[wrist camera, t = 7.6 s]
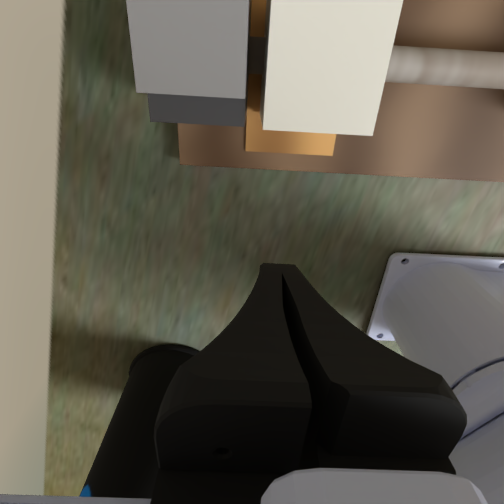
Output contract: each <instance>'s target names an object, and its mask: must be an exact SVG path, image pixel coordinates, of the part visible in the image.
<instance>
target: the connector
mask: <svg viewBox="0 0 504 504" xmlns="http://www.w3.org/2000/svg"><path fill="white" fill-rule="evenodd" d="M126 4H127V13H128V22H129V31H130V40H131V49H132V58H133V67H134V75H135V84H136V92H137V93H148V103H149V113H150V122H166V123H184V124H202V125H219V126H237V127H245V121H246V116H247V100H248V76H249V74H248V57H249V36H250V28H251V4H252V0H126Z"/></svg>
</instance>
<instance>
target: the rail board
mask: <svg viewBox="0 0 504 504" xmlns="http://www.w3.org/2000/svg"><path fill="white" fill-rule="evenodd" d="M265 15H266V0H252V4H251V28H250V36H249V57H248V74H249V76H248V100H247V116H246V121H245V127H237V126H219V125H202V124H184V123H178V139H179V157H180V165H196V166H215V167H233V168H252V169H271V170H289V171H308V172H326V173H345V174H363V175H382V176H401V177H419V178H438V179H456V180H475V181H494V182H504V0H403V4H402V8H401V13H400V17H399V22H398V26H397V30H396V35H395V39H394V44H393V48H392V53H391V57H390V61H389V66H388V70H387V75H386V79H385V83H384V88H383V92H382V97H381V101H380V106H379V110H378V114H377V119H376V123H375V128H374V132H373V136H363V135H346V134H328V133H310V132H293V131H275V130H263V128H262V123H261V118H260V99H261V83H262V75H264V60H265V44H266V37H264V32H265Z"/></svg>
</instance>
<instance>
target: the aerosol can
mask: <svg viewBox="0 0 504 504" xmlns="http://www.w3.org/2000/svg"><path fill="white" fill-rule="evenodd" d="M197 353H199V351H197V350H194V349H192V348H189V347H184V346H180V345H161V346H156V347H152V348H150V349H147V350H145V351H143V352H142V353H140V354H139V355H138V356H137V357H136V358H135V359H134V360H133V362H132V364H131V366H130V371H129V379H128V381H127V383H126V386H125V388H124V391H123V393H122V395H121V398H120V400H119V403H118V405H117V407H116V410H115V412H114V415H113V417H112V419H111V422H110V424H109V427H108V429H107V431H106V434H105V436H104V439H103V441H102V443H101V446H100V448H99V451H98V453H97V455H96V458H95V460H94V463H93V465H92V467H91V470H90V472H89V474H88V477H87V479H86V482H85V484H84V486H83V489H82V491H81V494H80V496H79V497H108V498H141V499H151V498H152V494H153V490H154V486H155V481H156V477H157V473H158V469H159V466H158V460H157V454H156V448H155V442H154V426H155V423H156V419H157V416H158V412H159V409H160V405H161V403H162V400H163V398H164V395H165V393H166V391H167V388H168V386H169V384H170V382H171V381H172V379H173V377H174V375H175V373H176V371H177V370H178V368H179V366H180V365H182V364H183V363H185V362H186V361H188V360H189V359H190V358H192V357H193V356H195V355H196V354H197Z"/></svg>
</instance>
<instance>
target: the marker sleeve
mask: <svg viewBox="0 0 504 504" xmlns="http://www.w3.org/2000/svg"><path fill="white" fill-rule="evenodd" d="M402 4H403V0H266V15H265V32H264V37H266V44H265V60H264V75H262V83H261V99H260V118H261V123H262V128H263V130H275V131H293V132H310V133H328V134H346V135H363V136H373V132H374V128H375V123H376V119H377V114H378V110H379V106H380V101H381V97H382V92H383V88H384V83H385V79H386V75H387V70H388V66H389V61H390V57H391V53H392V48H393V44H394V39H395V35H396V30H397V26H398V22H399V17H400V13H401V8H402Z"/></svg>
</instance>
